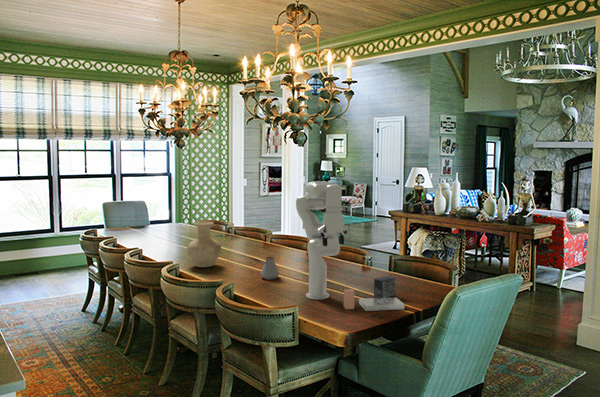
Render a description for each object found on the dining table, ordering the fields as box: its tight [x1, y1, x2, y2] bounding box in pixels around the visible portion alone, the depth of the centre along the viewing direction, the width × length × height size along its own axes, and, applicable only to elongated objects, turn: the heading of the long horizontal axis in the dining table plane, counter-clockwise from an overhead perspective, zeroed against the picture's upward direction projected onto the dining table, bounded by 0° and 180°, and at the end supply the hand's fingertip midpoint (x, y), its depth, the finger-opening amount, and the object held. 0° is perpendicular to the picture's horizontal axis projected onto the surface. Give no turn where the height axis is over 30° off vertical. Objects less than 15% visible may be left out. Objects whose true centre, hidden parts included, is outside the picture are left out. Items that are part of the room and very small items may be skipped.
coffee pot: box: [248, 256, 280, 281], centre depth 300 cm, size 21×12×15 cm, turn 131°
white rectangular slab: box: [358, 296, 405, 312], centre depth 249 cm, size 12×20×2 cm, turn 99°
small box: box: [373, 275, 396, 298], centre depth 266 cm, size 11×6×10 cm, turn 129°
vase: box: [186, 221, 222, 268], centre depth 332 cm, size 22×22×30 cm
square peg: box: [343, 288, 356, 310], centre depth 246 cm, size 4×4×9 cm
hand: (333, 244), depth 240 cm, fingers open, 9 cm apart
